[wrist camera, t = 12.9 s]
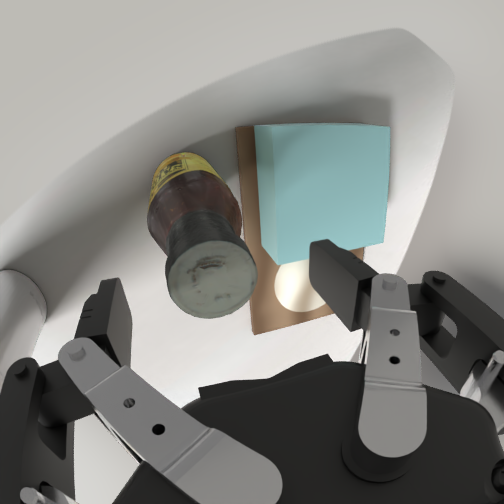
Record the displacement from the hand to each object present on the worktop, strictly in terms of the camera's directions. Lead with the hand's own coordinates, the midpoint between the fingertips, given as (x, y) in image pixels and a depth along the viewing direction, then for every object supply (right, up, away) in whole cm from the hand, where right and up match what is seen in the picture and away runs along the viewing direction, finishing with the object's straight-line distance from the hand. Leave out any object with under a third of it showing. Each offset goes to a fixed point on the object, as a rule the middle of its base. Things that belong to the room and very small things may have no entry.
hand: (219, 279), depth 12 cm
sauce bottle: (-6, +8, +18) cm, 21 cm away
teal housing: (+8, +9, +20) cm, 24 cm away
